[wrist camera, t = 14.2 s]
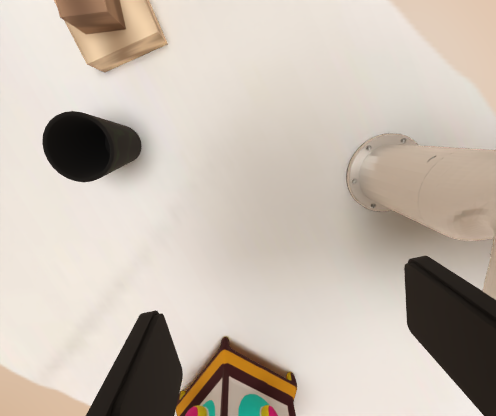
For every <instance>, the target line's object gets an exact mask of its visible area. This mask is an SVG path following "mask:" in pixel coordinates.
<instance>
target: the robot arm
mask: <svg viewBox="0 0 496 416" xmlns="http://www.w3.org/2000/svg"><path fill="white" fill-rule="evenodd" d="M366 147H367V149H366ZM352 179H353V181H352ZM351 181H352V182H351ZM347 184H348V188H349V191H350V193H351V195H352V196H353V198H354V199H355V200H356V201H357V202H358V203H359V204H360V205H362V206H364V207H365V208H367V209H370V210H373V211H379V212H381V211H390V210H393V211H395V212H397V213H399V214H401V215H403V216H405V217H407V218H410V219H412V220H414V221H416V222H418V223H420V224H422V225H424V226H426V227H428V228H430V229H432V230H434V231H437V232H439V233H441V234H443V235H445V236H448V237H450V238H454V239H458V240H465V241H479V240H487V239H493V238H494V240H493V246H492V250H491V254H490V257H491V258H490V262H489V266H488V270H487V274H486V278H485V282H484V287H483V291H481V290H480V289H478V288H476V287H475V286H473V285H472V284H470V283H469V282H467V281H466V280H464V279H462V278H461V277H459V276H458V275H456V274H455V273H453V272H451V271H450V270H448V269H447V268H445V267H444V266H442V265H440V264H439V263H437V262H436V261H434V260H433V259H431V258H430V257H428V256H422V257H417V258H412V259H409V261H408V263H407V264H405V289H406V311H407V325H408V328H409V330H410V331H411V333H412V334H413V335H414V336H415V338H416V339H417V340H418V341H419V342H420V343H421V344H422V346H423V347H424V348H425V349H426V350H427V351H428V352H429V354H430V355H431V356H432V357H433V358H434V359H435V360H436V361H437V363H438V364H439V365H440V366H441V367H442V368H443V369H444V371H445V372H446V373H447V374H448V375H449V376H450V377H451V379H452V380H453V381H454V382H455V383H456V384H457V385H458V386H459V388H460V389H461V390H462V391H463V392H464V393H465V394H466V396H467V397H468V398H469V399H470V400H471V401H472V402H473V404H474V405H475V406H476V407H477V408H478V409H479V410H480V412H481V413H482V414H483V415H484V416H496V150H485V149H467V148H451V147H435V146H419V145H418V144H417V143H416V142H415V141H414V140H412V139H411V138H409V137H407V136H404V135H401V134H383V135H378V136H376V137H374V138H371V139H370V140H368V141H367V142H365V143H364V144H363V145H362V146H361V147H360V148H359V149H358V150H357V151H356V152H355V154H354V155H353V157H352V159H351V161H350V164H349V167H348V172H347ZM371 204H372V205H371ZM182 376H183V373H182V367H181V364H180V361H179V358H178V355H177V352H176V349H175V347H174V344H173V341H172V338H171V335H170V332H169V329H168V326H167V323H166V320H165V318H164V315H163V314H159V313H158V311H152V312H147V313H142V314H140V316H139V318H138V319H137V321H136V323H135V325H134V327H133V329H132V331H131V333H130V334H129V336H128V338H127V340H126V342H125V344H124V346H123V347H122V349H121V351H120V353H119V355H118V357H117V359H116V360H115V362H114V364H113V366H112V368H111V370H110V372H109V373H108V375H107V377H106V379H105V381H104V383H103V385H102V387H101V388H100V390H99V392H98V394H97V396H96V398H95V400H94V401H93V403H92V405H91V407H90V409H89V411H88V413H87V415H86V416H174V414H175V409H176V405H177V400H178V396H179V391H180V387H181V382H182Z"/></svg>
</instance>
